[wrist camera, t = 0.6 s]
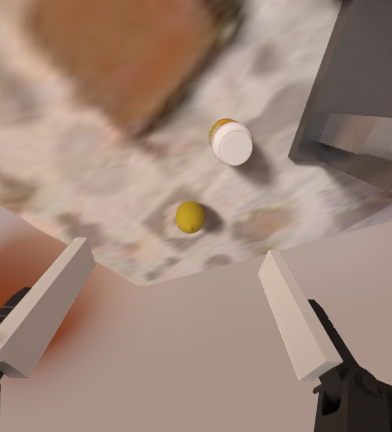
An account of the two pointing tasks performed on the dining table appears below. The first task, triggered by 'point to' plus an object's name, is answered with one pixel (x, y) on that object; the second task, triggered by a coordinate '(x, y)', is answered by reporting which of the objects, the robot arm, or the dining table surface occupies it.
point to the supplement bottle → (230, 142)
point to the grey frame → (353, 97)
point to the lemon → (190, 217)
